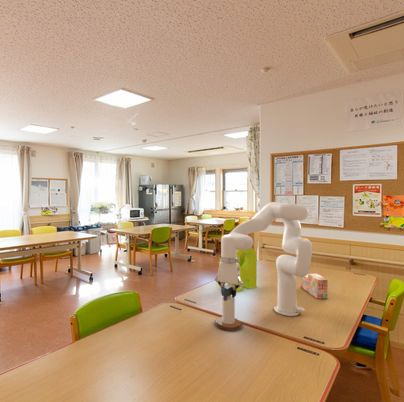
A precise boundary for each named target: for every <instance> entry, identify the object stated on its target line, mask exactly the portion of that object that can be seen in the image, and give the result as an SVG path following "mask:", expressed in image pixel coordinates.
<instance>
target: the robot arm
mask: <svg viewBox="0 0 404 402" xmlns="http://www.w3.org/2000/svg"><path fill="white" fill-rule="evenodd" d="M308 217H309V209H308V207H307V206H306V205H305V204H298V203H290V202H283V201H282V202H281V201H280V202H279V201H271V202H268V203H267V204H265V205H264V206H263V207H262V208H261V209H260V210H259V211H258V212H257V213H256V214H255V215H254V216H253V217H251V218H249V219H247V220H246V221H244V222H241V223H240V224H238V225H237V226H236V227H234V228H232V230H231V231H230V232H229V233H228V234H224V235H221V238H220V239H221V240H220V243H221V244H220V248H221V249H220V262H219V263H218V264H219V265H218V271H217V272H218V273H217V276H216V277H215V278H214V281H215V282H216V283H217V284H218V285H219V287H220V293H221V296H222V297H223V295H222V286H225V285H226V284H228V283H230V284H232V286H233V290H232V295H231V296H232V298H235V297H237V292H236V289H237V288H238V287H240V286H242V285H243V282H242V281H241V279H240V270H239V264H240V259H241V258H240V259H237V250H248V249H250V248H251V247H252V248H253V245H254V240H253V237H251V236H250V234H253V233H258V232H263V231H265V230H267V228H268V227H269V226H271V225H272V224H273V222H275V220H277V219H280V220H281V221H282V222H283V225H284V228H283V235H282V241H281V249H282V250H283V251H284V252H286V253H288V254H281V255H279V256H278V257H277V258H276V259H275V267H276V272H277V273H276V274H277V301H276V303H277V304H276V305H275V306H274V307H273V309H274V312H276V313H277V314H279V315H281V316H285V317H286V316H287V317H296V316H298V315H299V314H300V313H303V314H305V313H306V308H304V307H302V306H298V303H297V284H298V283H297V277H298V278H301V277H304V276H306V275H307V274H309V273H310V268H311V263H312V256H313V249H314V247H313V243H312V242H311V240H310V239H308V238H305V237H301V235H302V226H301V223H300V222H302V221H305V220H306V219H307V218H308ZM289 254H293V255H296V256H293V255H289ZM237 262H239V264H238V263H237ZM238 282H239V284H238V285H237V283H238ZM242 287H243V286H242Z"/></svg>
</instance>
